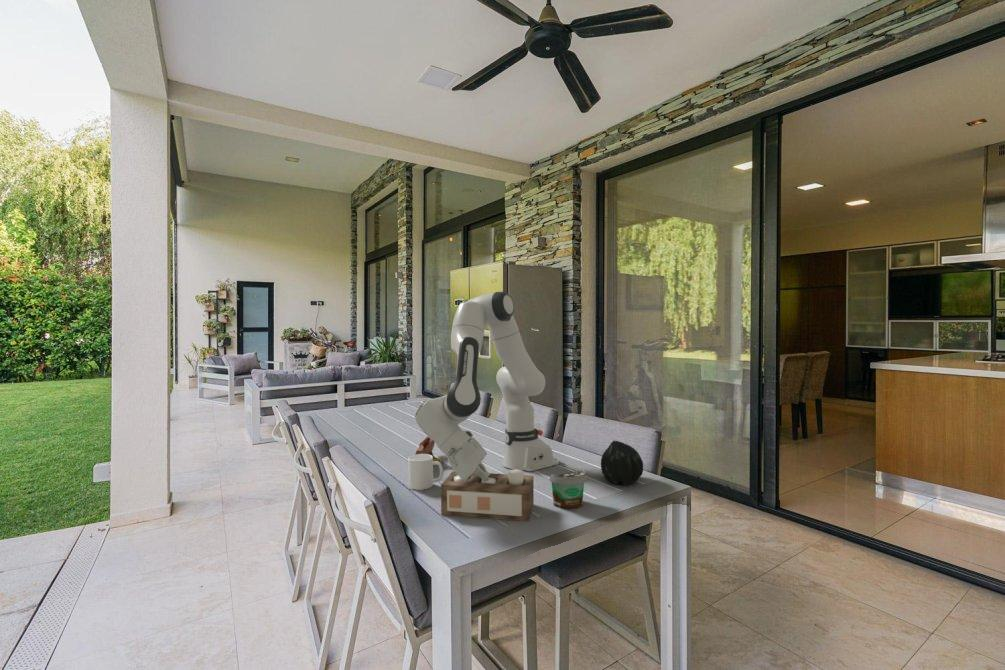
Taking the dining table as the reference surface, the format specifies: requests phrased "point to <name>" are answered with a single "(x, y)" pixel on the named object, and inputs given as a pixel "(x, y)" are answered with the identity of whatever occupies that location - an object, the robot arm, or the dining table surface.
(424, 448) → the decorative bird
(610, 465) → the squash
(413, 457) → the cup
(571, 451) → the dining table surface
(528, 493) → the wooden peg block
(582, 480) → the food container
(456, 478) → the white egg
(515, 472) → the white rounded cylinder
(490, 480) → the white rounded cylinder
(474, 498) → the pattern card
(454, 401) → the robot arm
